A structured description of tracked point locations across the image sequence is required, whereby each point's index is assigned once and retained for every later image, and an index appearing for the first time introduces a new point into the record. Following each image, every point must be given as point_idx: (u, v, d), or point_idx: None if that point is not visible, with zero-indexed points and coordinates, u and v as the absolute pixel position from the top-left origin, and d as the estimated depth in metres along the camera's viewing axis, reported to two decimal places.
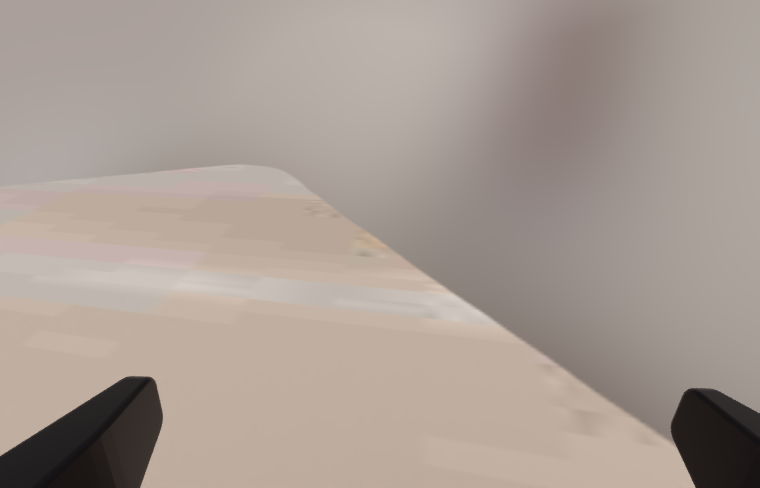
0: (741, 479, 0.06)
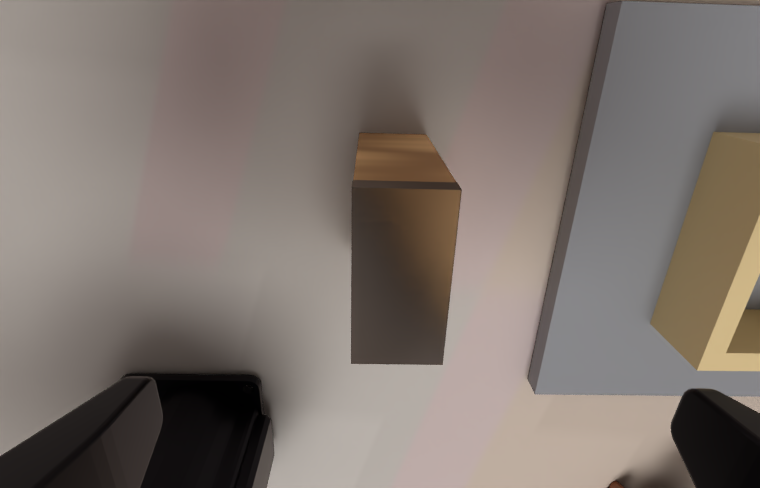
0: (741, 479, 0.06)
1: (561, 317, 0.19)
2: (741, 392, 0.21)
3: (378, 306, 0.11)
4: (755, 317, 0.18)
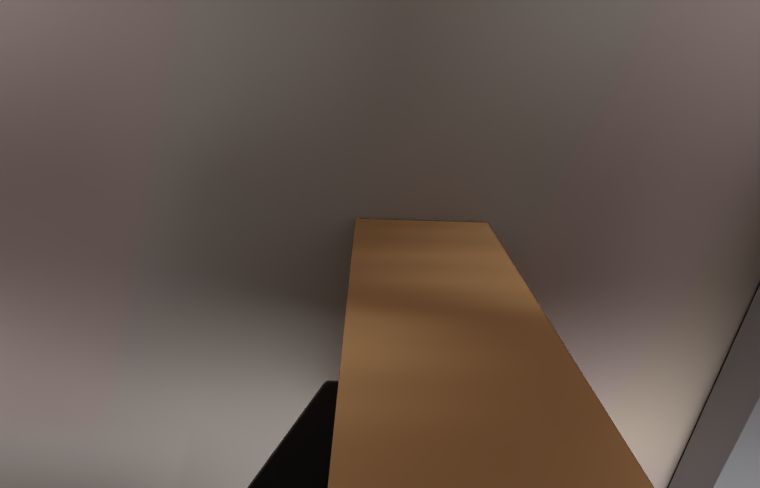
0: None
1: None
2: None
3: None
4: None
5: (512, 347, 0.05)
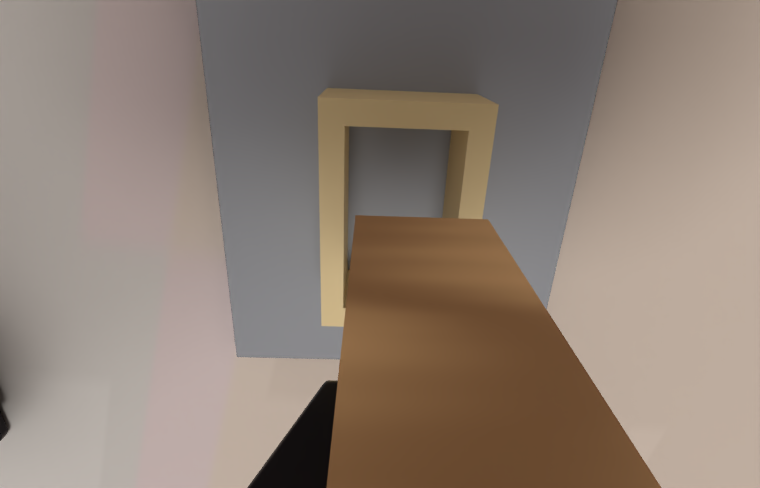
0: None
1: (237, 277, 0.19)
2: None
3: None
4: None
5: (513, 343, 0.05)
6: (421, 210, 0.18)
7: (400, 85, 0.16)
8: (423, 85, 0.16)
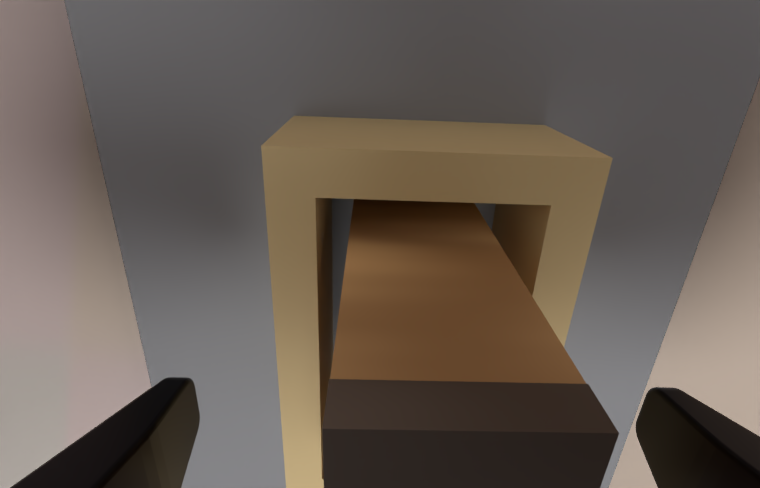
0: (698, 478, 0.06)
1: None
2: None
3: None
4: None
5: (471, 262, 0.07)
6: None
7: (416, 111, 0.09)
8: (455, 111, 0.09)
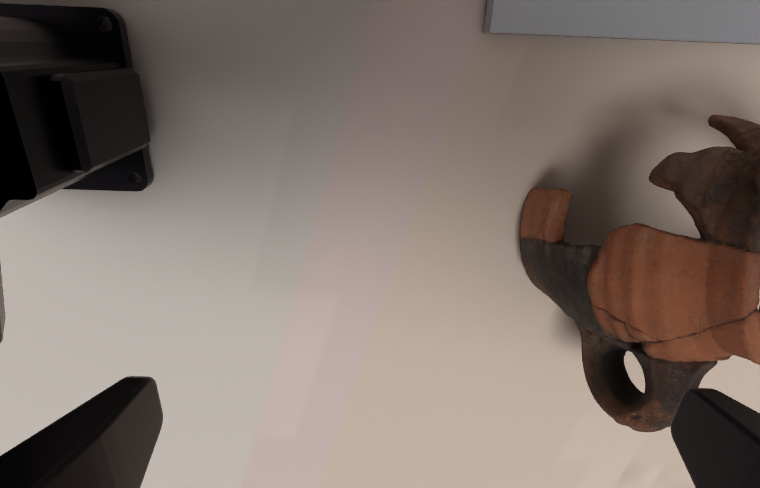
0: (741, 479, 0.06)
1: None
2: None
3: None
4: None
5: None
6: None
7: None
8: None
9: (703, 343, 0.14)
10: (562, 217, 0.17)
